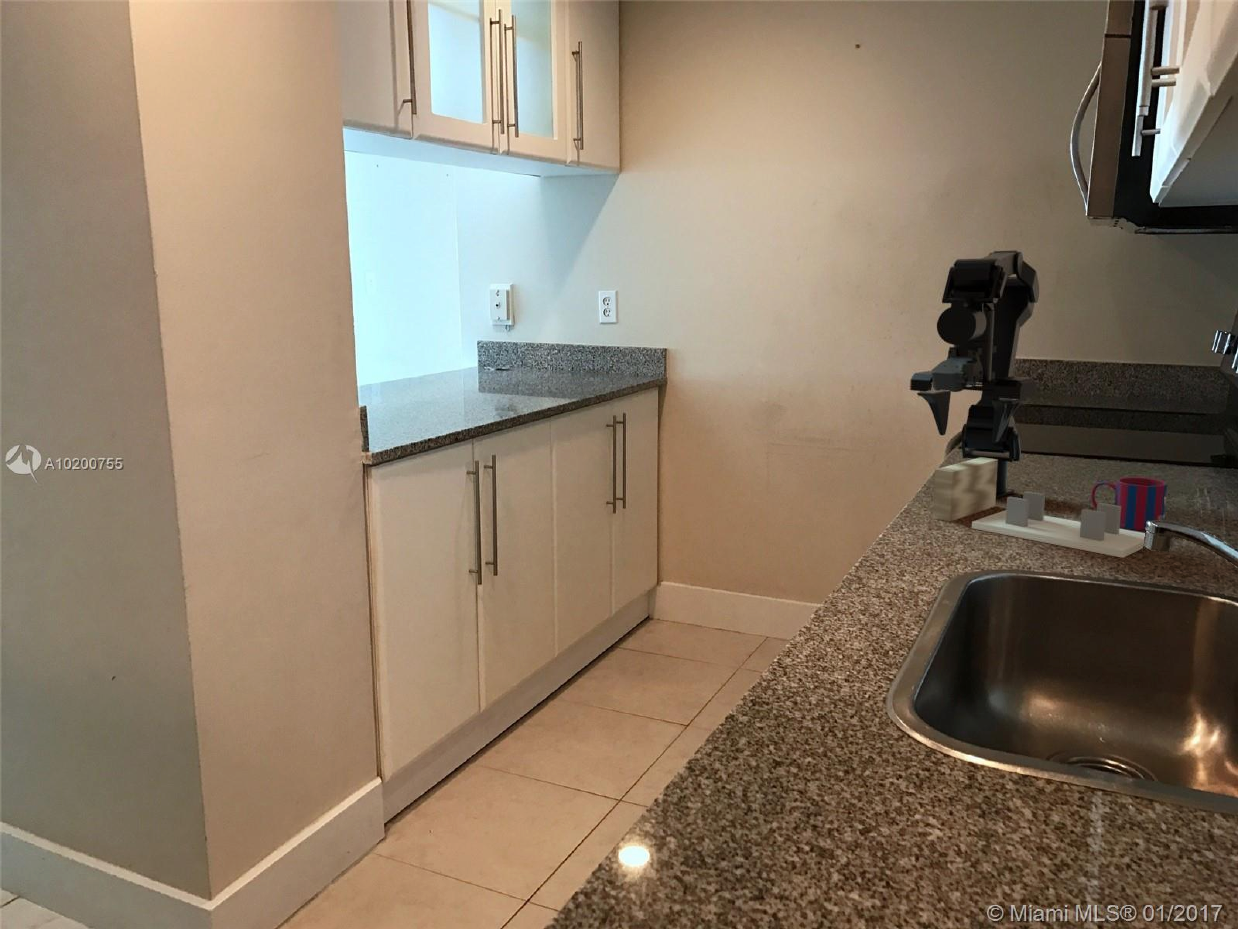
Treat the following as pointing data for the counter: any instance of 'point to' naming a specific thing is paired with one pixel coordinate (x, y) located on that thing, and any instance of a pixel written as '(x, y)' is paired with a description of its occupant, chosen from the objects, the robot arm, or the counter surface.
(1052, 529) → the white slotted rack
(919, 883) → the counter surface
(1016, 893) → the counter surface
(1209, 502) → the counter surface
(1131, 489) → the mug
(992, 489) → the wooden block
